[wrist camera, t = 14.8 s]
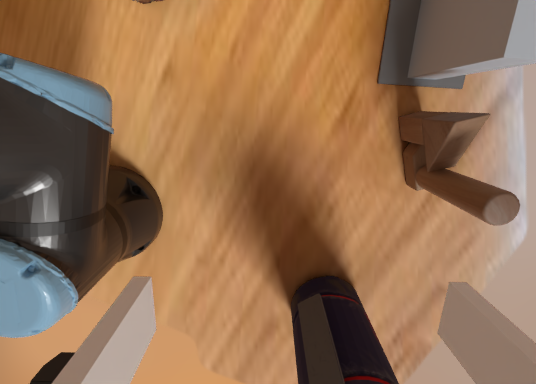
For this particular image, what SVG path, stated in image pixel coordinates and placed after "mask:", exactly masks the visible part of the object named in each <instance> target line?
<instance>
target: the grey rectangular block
mask: <svg viewBox="0 0 536 384" xmlns="http://www.w3.org/2000/svg"><path fill="white" fill-rule="evenodd" d="M534 63H536V0H421V5H420V10H419V16H418V21H417V27H416V32H415V38H414V43H413V49H412V54H411V60H410V66H409V71H408V77H407V78H418V79H433V80H436V79H442V78H448V77H455V76H461V75H467V74H473V73H479V72H485V71H491V70H497V69H504V68H510V67H516V66H522V65H528V64H534Z"/></svg>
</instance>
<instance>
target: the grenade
mask: <svg viewBox="0 0 536 384" xmlns="http://www.w3.org/2000/svg"><path fill="white" fill-rule="evenodd" d="M291 313H292V323H293V335H294V345H295V355H296V365H297V375H298V384H399V383H398V381H397V379H396V377H395V375H394V372H393V370H392V368H391V366H390V364H389V362H388V359H387V357H386V355H385V353H384V351H383V349H382V346H381V344H380V342H379V340H378V338H377V336H376V333H375V331H374V329H373V327H372V325H371V323H370V320H369V318H368V316H367V314H366V312H365V310H364V308H363V305H362V303H361V301H360V299H359V297H358V295H357V292H356V291H355V289H354V288H353V287H352V286H351V285H350V284H349V283H347V282H346V281H344V280H342V279H339V278H338V277H334V276H326V277H319V278H315V279H312V280H310V281H308V282H306V283H305V284H303V285H302V286H301V287H300V288H299V289H298V290H297V291H296V293H295V295H294V296H293V299H292V302H291Z"/></svg>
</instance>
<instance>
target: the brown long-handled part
mask: <svg viewBox="0 0 536 384" xmlns="http://www.w3.org/2000/svg"><path fill="white" fill-rule="evenodd" d="M489 116H490V114H489V113H459V112H449V113H448V112H425V111H420V112H416V113H412V114H408V115H404V116H400V117H399V126H400V134H401V139H402V140H404V141H408V142H410V143H409V145H408V146H407V147H406V149H405V150H404V151H403V159H404V167H405V176H406V184H407V185H408V186H410V187H411V188H413V189H415V190H417V191H418V190H423V189H425V190H427V191H429V192H431V193H433V194H434V195H436V196H438V197H440V198H442V199H444V200H445V201H447V202H449V203H451V204H453V205H455V206H457V207H458V208H460V209H462V210H464V211H466V212H468V213H470V214H471V215H473V216H475V217H477V218H479V219H481V220H483V221H484V222H486V223H488V224H491V225H504V224H507V223H509V222H510V221H512V220H513V219H514V218H515V217H516V216H517V214H518V212H519V208H520V204H519V200H518V199H517V197H516V196H515V195H514V194H513V193H511V192H509V191H506V190H503V189H500V188H498V187H495V186H492V185H489V184H486V183H484V182H481V181H478V180H475V179H473V178H470V177H467V176H464V175H461V174H459V173H456V172H453V171H450V170H447V169H445V168H449V167H454V166H455V165H456V164H457V162H458V161H459V159H460V158H461V156H462V155H463V154H464V152H465V151H466V149H467V148H468V146H469V145H470V143H471V142H472V141H473V139H474V138H475V136H476V135H477V133H478V132H479V130H480V129H481V128H482V126H483V125H484V123H485V122H486V120H487V119H488V118H489Z"/></svg>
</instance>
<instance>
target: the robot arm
mask: <svg viewBox="0 0 536 384" xmlns="http://www.w3.org/2000/svg"><path fill="white" fill-rule="evenodd" d="M111 134H114V129H113V128H112V100H111V97H110V95H109V93H108V92H107V90H106V89H105V88H103V87H102V86H101V85H99V84H97V83H95V82H92V81H89V80H86V79H83V78H80V77H77V76H74V75H71V74H68V73H65V72H62V71H59V70H56V69H53V68H49V67H46V66H43V65H40V64H37V63H34V62H30V61H27V60H24V59H20V58H16V57H13V56H10V55H7V54H4V53H0V336H1V337H10V338H15V337H16V338H18V337H28V336H32V335H36V334H39V333H41V332H42V331H45V330H47V329H48V328H50V327H52V326H53V325H54V324H55V323H57V322H58V321H59V320H60V319H61V318H62V317H64V316H65V315H66V314H68V313H70V312H71V311H72V310H73V309H74V308H75V307H76V306H77V305H76V304H77V303H78V302H79V301H80V300H81V299H82V298H83V297H84V296H85V295H86V294H87V293H88V292H89V291H90V290H91V289H92V288H93V287H94V285H95V284H96V283H97V282H98V281H99V280H100V279H101V278H102V277H103V276H104V275H105V274H106V273H107V272H108V271H109V270H110V269H111V268H112V267H113V266H114V265H115V264H116V263H117V262H120V261H122V260H125V259H128V258H131V257H133V256H136V255H137V254H139V253H141V252H142V251H144V250H145V249H146V248H147V247H148V246H149V245H150V244H151V243H152V242H153V241H154V239H155V238H156V237H157V235H158V233H159V231H160V229H161V226H162V220H163V212H162V206H161V203H160V200H159V197H158V195H157V194H156V192H155V190H154V189H153V188H152V186H151V185H150V184H149V183H148V182H147V181H146V180H145V179H144V178H143V177H141V176H140V175H138V174H137V173H135V172H133V171H131V170H129V169H126V168H123V167H118V166H109V160H110V146H111ZM155 331H156V321H155V311H154V300H153V290H152V279H151V277H135V276H134V277H133V278H132V279H131V280H130V282H129V283H128V284H127V286H126V287H125V288H124V290H123V291H122V292H121V294H120V295H119V296H118V297H117V299H116V300H115V301H114V303H113V304H112V305H111V307H110V308H109V309H108V311H107V312H106V313H105V315H104V316H103V317H102V318H101V320H100V321H99V322H98V324H97V325H96V326H95V328H94V329H93V330H92V332H91V333H90V334H89V336H88V337H87V338H86V339H85V341H84V342H83V343H82V345H81V346H80V348H79V349H78V350H77V351H76V353H65V352H61V353H60V354H58V355H57V356H56V357H54V358H53V359H52V360H50V361H49V362H48V363H46V364H45V365H44V366H43V367H42V368H41V369H40V371H39V372H38V373H37V374H36V375H35V377H34V378H33V379H32V380H31V382H30V384H130V383H131V381H132V379H133V377H134V374H135V372H136V370H137V368H138V366H139V364H140V362H141V360H142V358H143V356H144V354H145V352H146V349H147V347H148V345H149V343H150V341H151V339H152V337H153V335H154V333H155ZM438 335H439V336H440V337H441V338H442V340H443V341H444V342H445V344H446V345H447V346H448V348H449V349H450V350H451V352H452V353H453V354H454V356H455V357H456V358H457V360H458V361H459V362H460V364H461V365H462V366H463V367H464V369H465V370H466V371H467V373H468V374H469V375H470V377H471V378H472V379H473V381H474V382H475V383H476V384H536V343H535V342H534V341H533V340H532V339H530V338H529V337H528V336H527V335H526V334H525V333H523V332H522V331H521V330H520V329H519V328H518V327H516V326H515V325H514V324H513V323H512V322H511V321H510V320H509V319H508V318H506V317H505V316H504V315H503V314H502V313H501V312H500V311H498V310H497V309H496V308H495V307H494V306H493V305H492V304H490V303H489V302H488V301H487V300H486V299H485V298H484V297H482V296H481V295H480V294H479V293H478V292H477V291H476V290H475V289H473V288H472V287H471V286H470V285H469V284H468V283H467V282H449V285H448V289H447V294H446V298H445V303H444V307H443V311H442V316H441V320H440V324H439V329H438Z"/></svg>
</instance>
